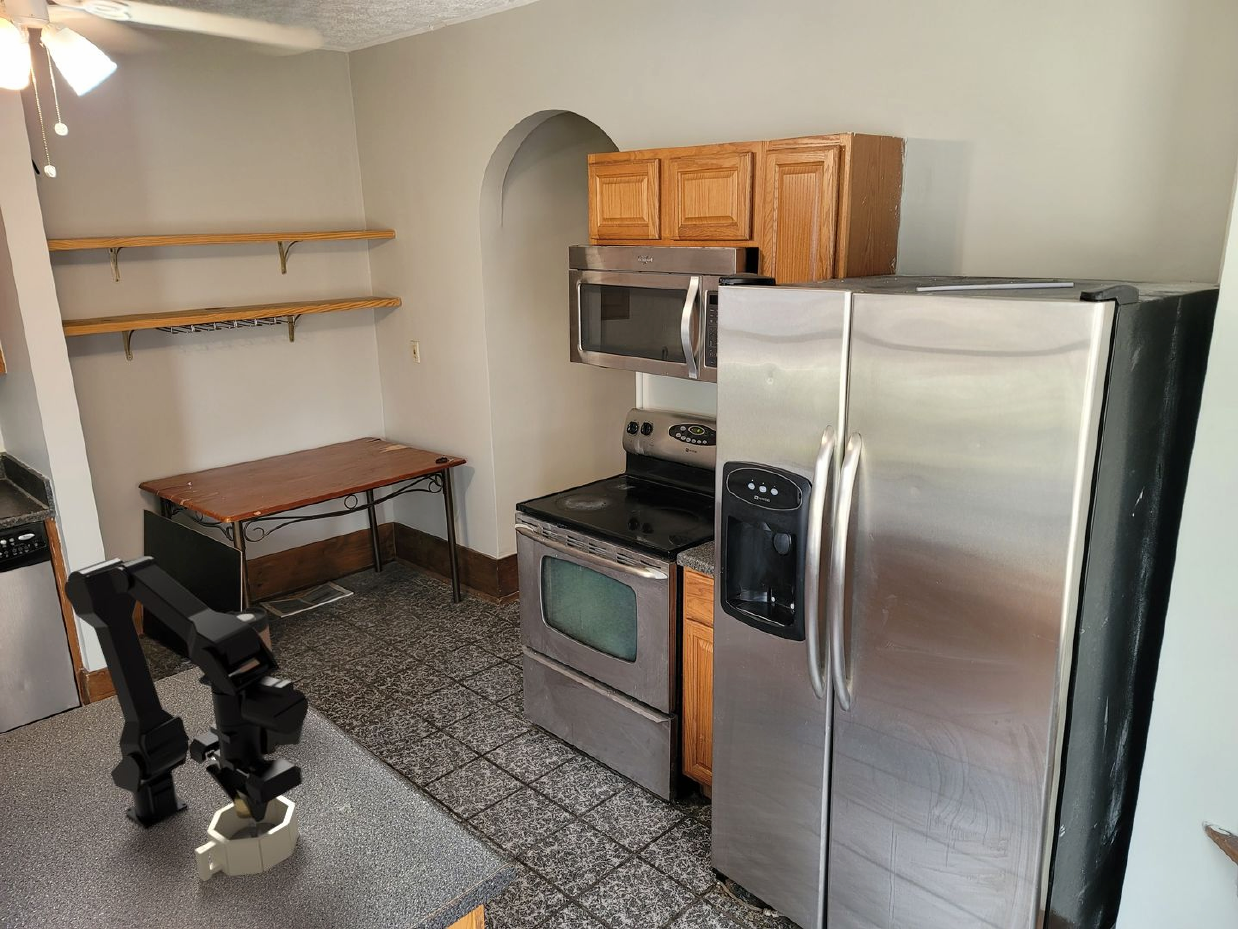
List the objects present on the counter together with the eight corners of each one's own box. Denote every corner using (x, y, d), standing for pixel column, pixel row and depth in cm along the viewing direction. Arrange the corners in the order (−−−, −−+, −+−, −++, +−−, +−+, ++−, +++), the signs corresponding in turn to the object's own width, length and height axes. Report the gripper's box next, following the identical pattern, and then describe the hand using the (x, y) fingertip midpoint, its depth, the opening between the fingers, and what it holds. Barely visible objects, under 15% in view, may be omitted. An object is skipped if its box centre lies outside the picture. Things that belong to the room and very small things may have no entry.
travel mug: (263, 731, 156) (250, 626, 151) (224, 727, 157) (210, 623, 152) (288, 709, 163) (276, 608, 158) (250, 705, 165) (237, 605, 159)
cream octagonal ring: (181, 864, 123) (176, 833, 122) (268, 814, 133) (264, 785, 132) (223, 897, 117) (218, 865, 115) (311, 842, 127) (308, 812, 126)
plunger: (218, 847, 125) (211, 798, 123) (263, 821, 131) (257, 774, 129) (246, 867, 121) (239, 817, 119) (291, 839, 127) (285, 791, 125)
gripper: (330, 711, 122) (341, 810, 126) (253, 673, 132) (265, 765, 136) (256, 748, 113) (270, 853, 117) (180, 704, 124) (195, 802, 128)
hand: (251, 815), depth 125 cm, fingers closed on plunger, 4 cm apart
